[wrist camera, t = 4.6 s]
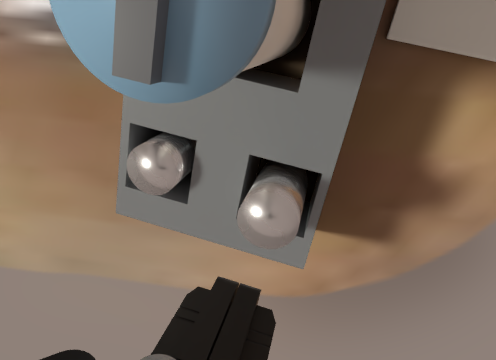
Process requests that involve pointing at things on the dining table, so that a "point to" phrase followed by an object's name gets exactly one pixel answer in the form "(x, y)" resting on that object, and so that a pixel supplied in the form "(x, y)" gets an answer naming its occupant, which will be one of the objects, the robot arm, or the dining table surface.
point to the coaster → (447, 26)
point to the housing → (256, 134)
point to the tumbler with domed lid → (178, 41)
